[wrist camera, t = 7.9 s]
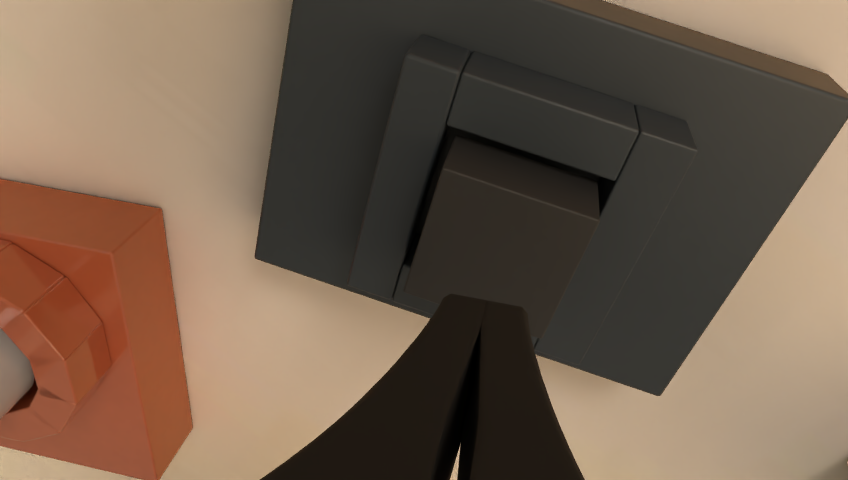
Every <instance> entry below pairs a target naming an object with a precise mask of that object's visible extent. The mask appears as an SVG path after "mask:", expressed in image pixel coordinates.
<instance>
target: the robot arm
mask: <svg viewBox="0 0 848 480" xmlns="http://www.w3.org/2000/svg"><path fill="white" fill-rule="evenodd" d="M460 443H461V446H460ZM459 446H460V457H459V468H458V480H585V479H584V477H583V475H582V473H581V471H580V469H579V467H578V465H577V463H576V461H575V459H574V457H573V455H572V452H571V450H570V448H569V446H568V443H567V441H566V439H565V436H564V434H563V432H562V430H561V427H560V425H559V422H558V420H557V417H556V415H555V412H554V410H553V407H552V404H551V402H550V399H549V396H548V393H547V390H546V387H545V384H544V382H543V379H542V376H541V373H540V369H539V366H538V363H537V359H536V355H535V351H534V348H533V344H532V339H531V334H530V329H529V322H528V314H527V312H526V311H525V310H524V308H523V307H520V306H514V305H509V304H504V303H499V302H493V301H488V300H483V299H478V298H472V297H467V296H462V295H457V294H449V295H447V296H445V297H444V298H443V300H442V301H441V303H440V305H439V307H438V308H437V310H436V312H435V313H434V315H433V316H432V318H431V319H430V321H429V322H428V323H427V325H426V326H425V327H424V329H423V330H422V331H421V333H420V334H419V335H418V337H417V338H416V339H415V340H414V342H413V343H412V344H411V345H410V346H409V348H408V349H407V350H406V351H405V352H404V353H403V355H402V356H401V357H400V358H399V359H398V361H397V362H396V363H395V364H394V365H393V366H392V367H391V368H390V370H389V371H388V372H387V373H386V374H385V375H384V376H383V377H382V378H381V379H380V380H379V381H378V382H377V383H376V384H375V385H374V386H373V387H372V388H371V389H370V390H369V391H368V392H367V393H366V394H365V395H364V396H363V397H362V398H361V399H360V400H359V401H358V402H357V403H356V404H355V405H354V406H353V407H352V408H351V409H350V410H348V411H347V412H346V413H345V414H344V415H343V416H342V417H341V418H340V419H338V420H337V421H336V422H335V423H334V424H333V425H331V426H330V427H329V428H328V429H327V430H325V431H324V432H323V433H322V434H321V435H320V436H318V437H317V438H316V439H315V440H313V441H312V442H311V443H309V444H308V445H307V446H305V447H304V448H303V449H301V450H300V451H299V452H298V453H296V454H295V455H294V456H292V457H291V458H290V459H288V460H287V461H286V462H284V463H283V464H282V465H280V466H279V467H277V468H276V469H275V470H273V471H272V472H270V473H269V474H267V475H266V476H264V477H263V478H262V479H260V480H450V477H451V474H452V470H453V467H454V463H455V460H456V457H457V453H458V450H459Z"/></svg>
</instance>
